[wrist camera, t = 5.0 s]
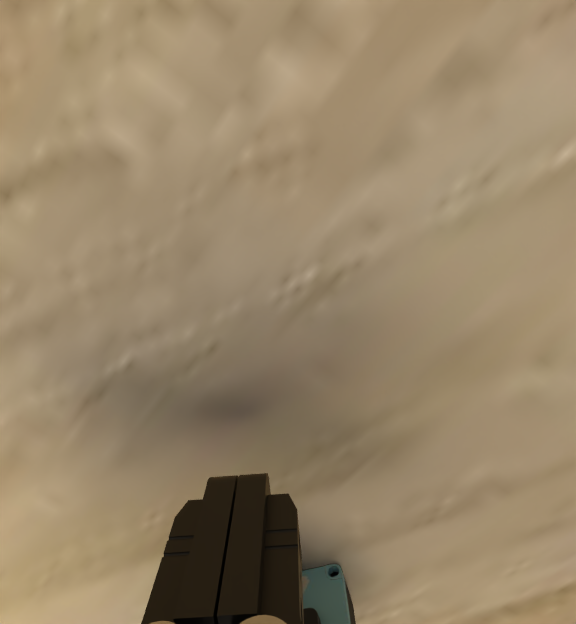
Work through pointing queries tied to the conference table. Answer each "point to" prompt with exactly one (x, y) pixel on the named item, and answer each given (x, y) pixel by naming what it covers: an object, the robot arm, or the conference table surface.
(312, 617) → the push button
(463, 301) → the conference table surface
